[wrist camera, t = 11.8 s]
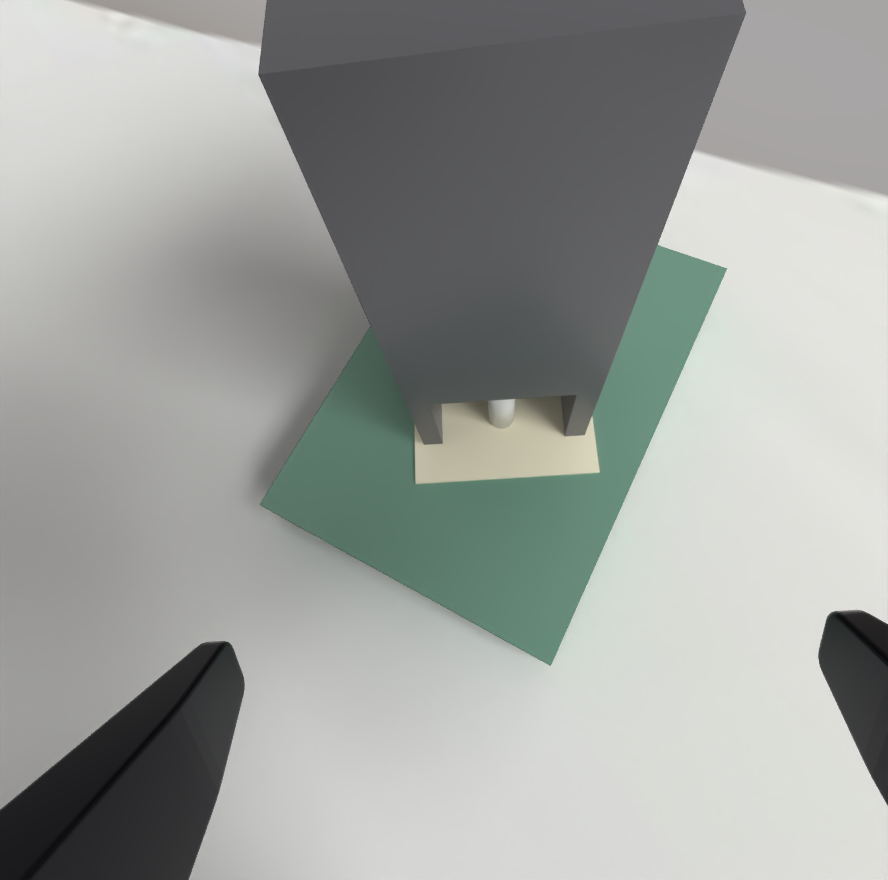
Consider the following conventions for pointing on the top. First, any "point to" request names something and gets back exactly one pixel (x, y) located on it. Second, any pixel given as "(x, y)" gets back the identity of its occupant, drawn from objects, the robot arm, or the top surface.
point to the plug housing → (495, 174)
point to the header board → (494, 473)
